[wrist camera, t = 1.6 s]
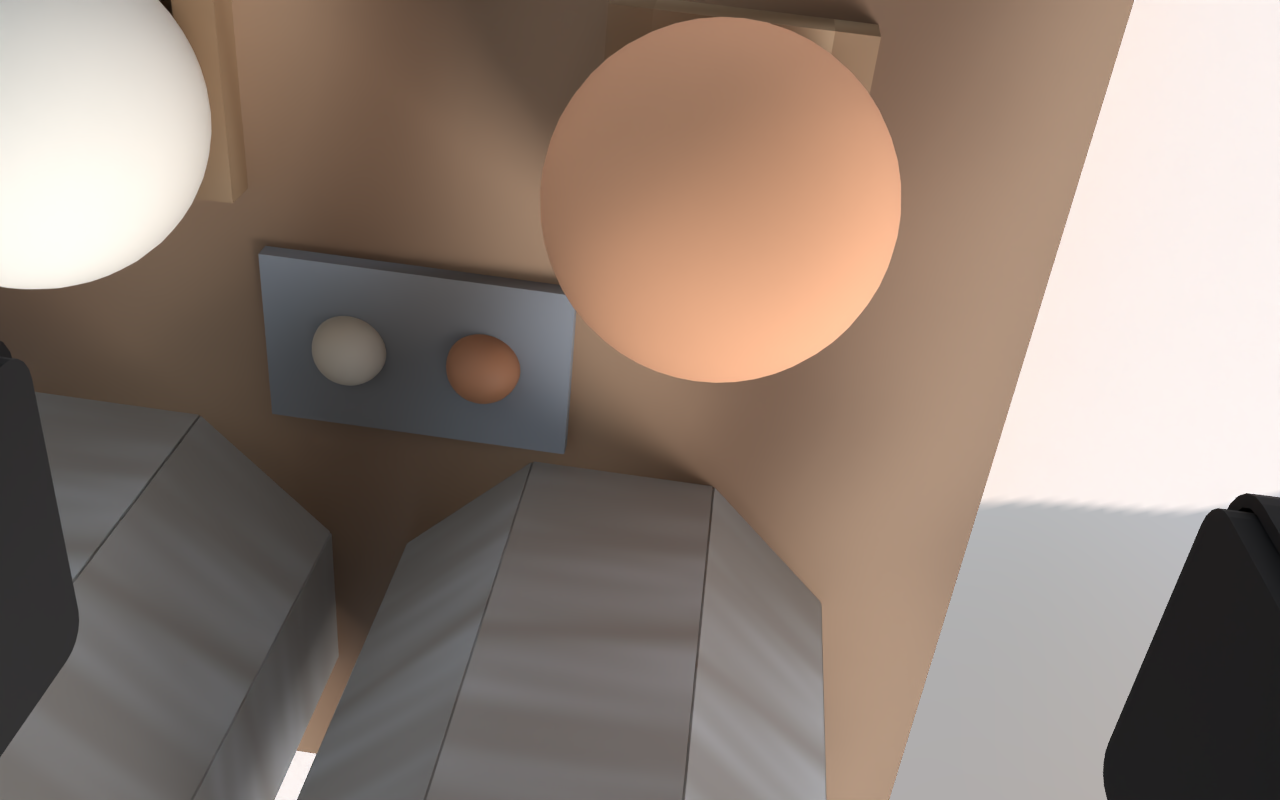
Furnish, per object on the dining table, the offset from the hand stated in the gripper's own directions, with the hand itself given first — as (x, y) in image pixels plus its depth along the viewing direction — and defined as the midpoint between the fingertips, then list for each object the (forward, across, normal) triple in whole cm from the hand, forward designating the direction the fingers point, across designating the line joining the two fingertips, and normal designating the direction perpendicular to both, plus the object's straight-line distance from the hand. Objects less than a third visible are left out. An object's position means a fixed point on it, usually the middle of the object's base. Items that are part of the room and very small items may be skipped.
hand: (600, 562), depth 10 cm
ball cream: (+7, +8, 0) cm, 11 cm away
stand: (+11, +4, +5) cm, 13 cm away
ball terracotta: (+7, -1, 0) cm, 7 cm away
